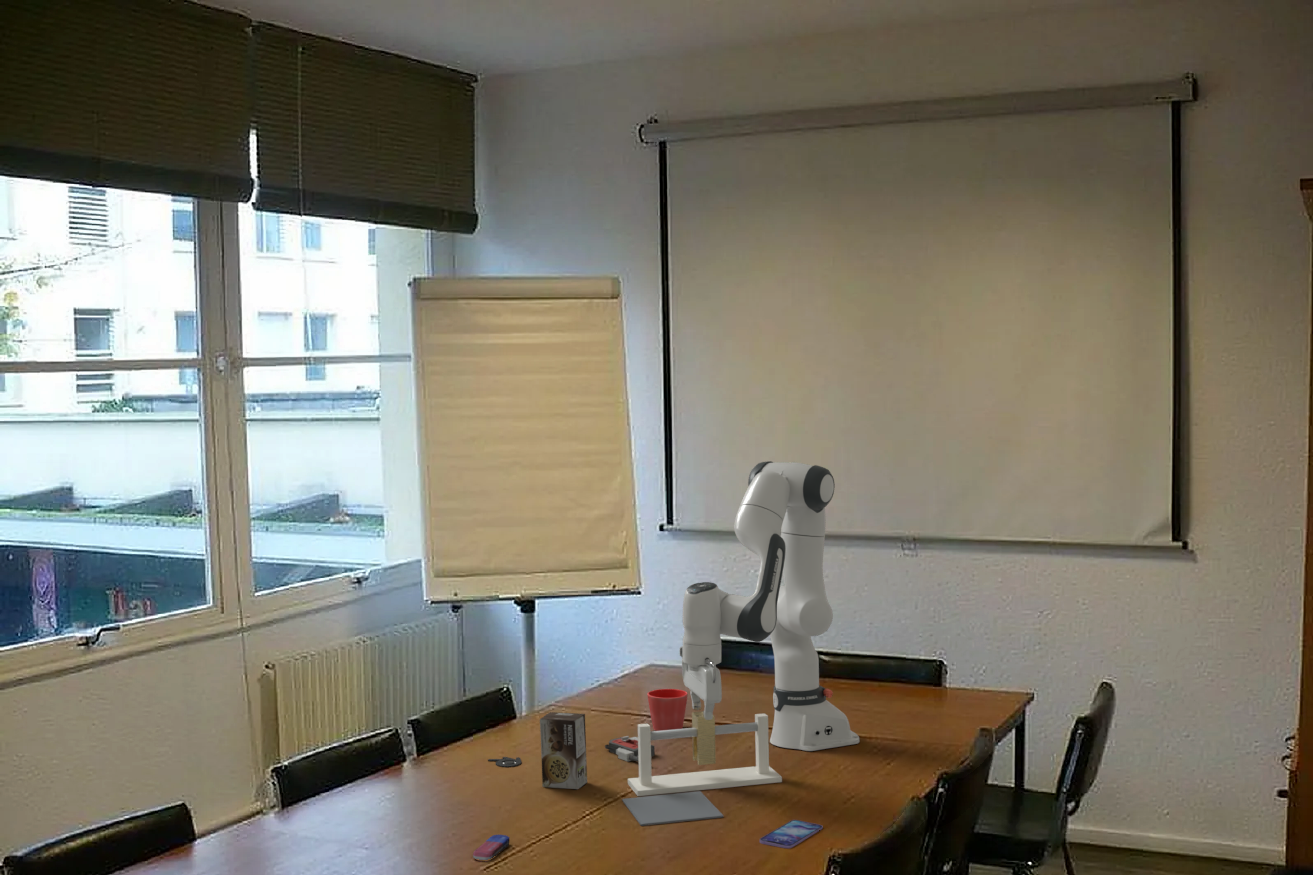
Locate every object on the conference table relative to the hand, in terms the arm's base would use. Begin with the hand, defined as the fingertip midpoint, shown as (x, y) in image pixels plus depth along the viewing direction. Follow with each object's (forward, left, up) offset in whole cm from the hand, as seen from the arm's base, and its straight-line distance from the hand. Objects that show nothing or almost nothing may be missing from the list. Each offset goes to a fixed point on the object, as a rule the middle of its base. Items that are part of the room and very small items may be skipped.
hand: (702, 714), depth 327 cm
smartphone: (-7, +40, -17) cm, 44 cm away
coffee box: (+31, -9, -16) cm, 36 cm away
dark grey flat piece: (+43, -34, -17) cm, 57 cm away
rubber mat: (+12, +16, -16) cm, 25 cm away
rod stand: (0, 0, -16) cm, 16 cm away
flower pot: (-4, -49, -16) cm, 52 cm away
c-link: (0, 0, -11) cm, 11 cm away
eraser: (+53, +31, -17) cm, 63 cm away
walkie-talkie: (+10, -26, -17) cm, 33 cm away
